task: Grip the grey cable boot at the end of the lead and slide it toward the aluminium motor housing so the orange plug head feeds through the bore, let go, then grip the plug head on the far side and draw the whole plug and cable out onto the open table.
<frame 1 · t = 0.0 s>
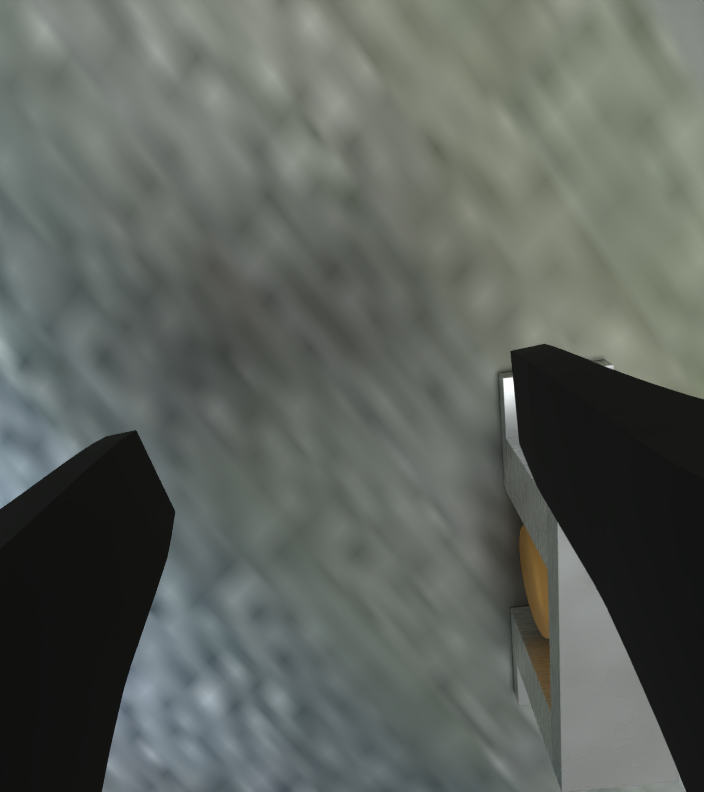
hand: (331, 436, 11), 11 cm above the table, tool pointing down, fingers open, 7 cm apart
housing: (554, 544, 24), on the table
plug: (566, 543, 24), on the table
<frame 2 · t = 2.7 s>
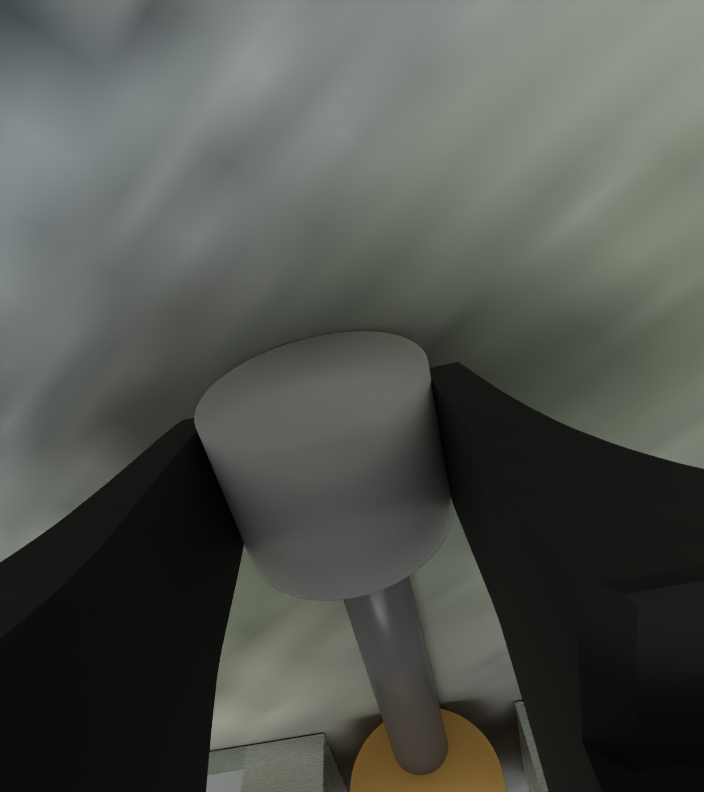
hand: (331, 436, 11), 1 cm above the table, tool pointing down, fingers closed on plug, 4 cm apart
housing: (427, 753, 18), on the table
plug: (425, 745, 18), on the table, touching gripper
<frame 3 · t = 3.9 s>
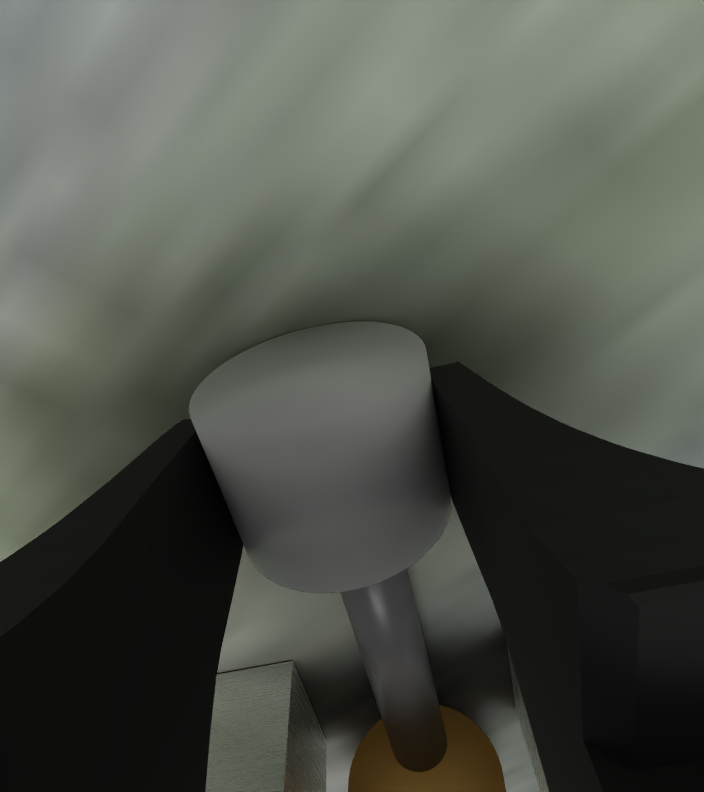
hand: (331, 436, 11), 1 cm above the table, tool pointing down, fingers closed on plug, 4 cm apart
housing: (409, 686, 16), on the table
plug: (424, 741, 18), on the table, touching gripper
when the fingers open (1 cm above the table, at t = 5.1 s): plug stays where it is, on the table.
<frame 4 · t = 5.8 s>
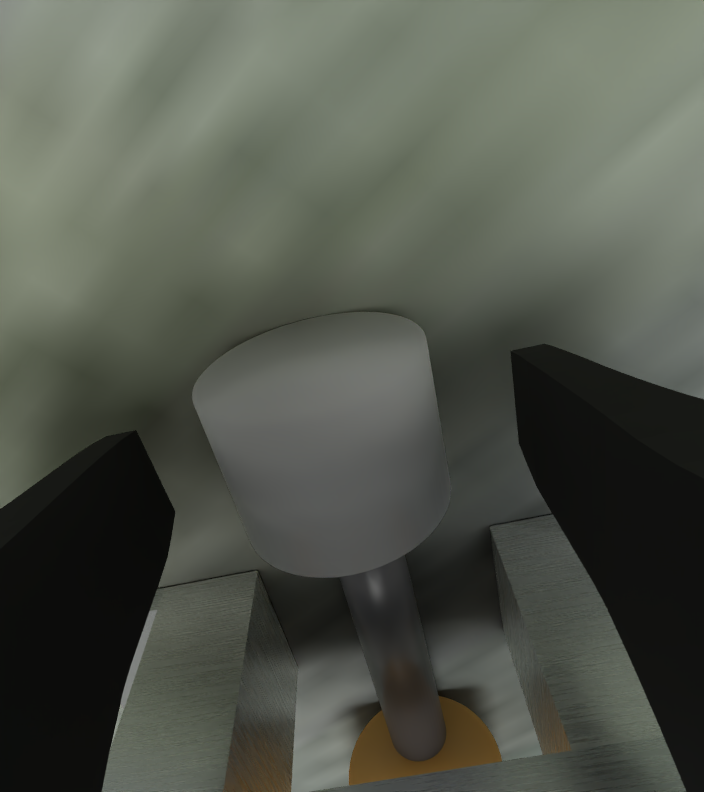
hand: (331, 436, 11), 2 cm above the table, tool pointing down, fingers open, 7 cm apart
housing: (386, 602, 15), on the table
plug: (423, 733, 18), on the table
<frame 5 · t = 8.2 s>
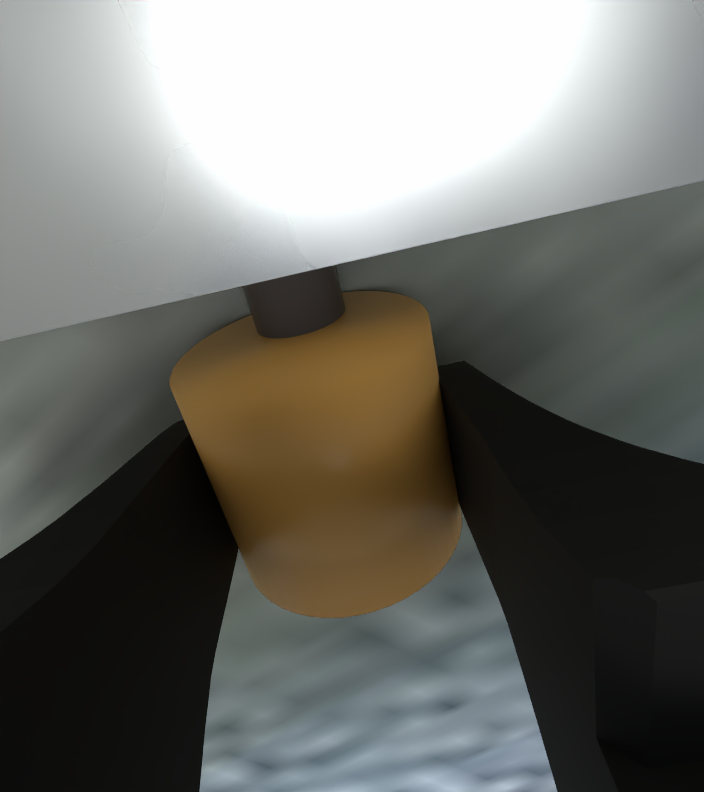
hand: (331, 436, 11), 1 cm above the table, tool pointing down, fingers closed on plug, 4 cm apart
housing: (233, 50, 9), on the table
plug: (327, 387, 12), on the table, touching gripper
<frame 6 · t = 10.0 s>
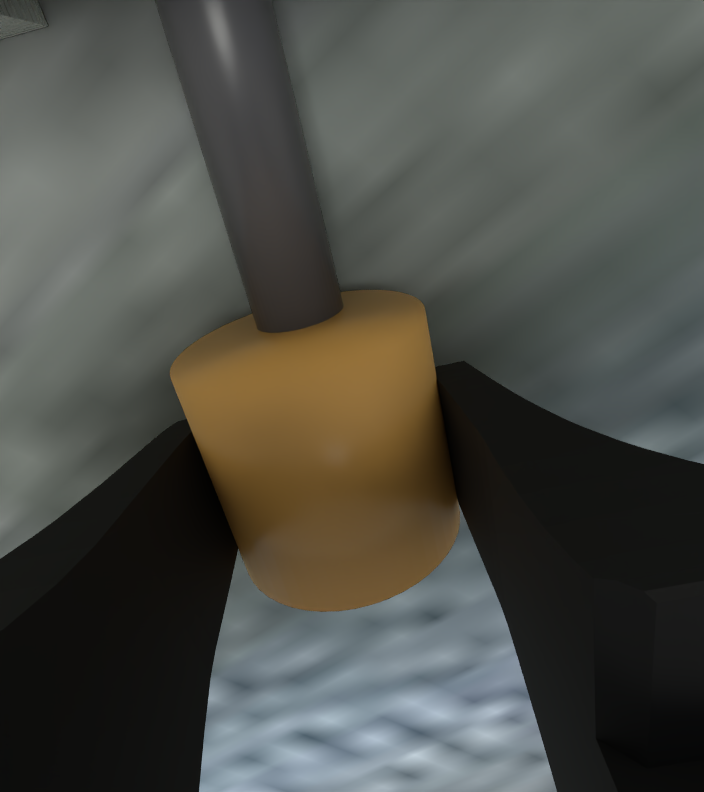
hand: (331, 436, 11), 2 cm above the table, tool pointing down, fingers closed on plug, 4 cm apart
plug: (326, 388, 12), point 1 cm above the table, touching gripper
when the fingers open (2 cm above the table, at t = 11.9 s): plug stays where it is, on the table.
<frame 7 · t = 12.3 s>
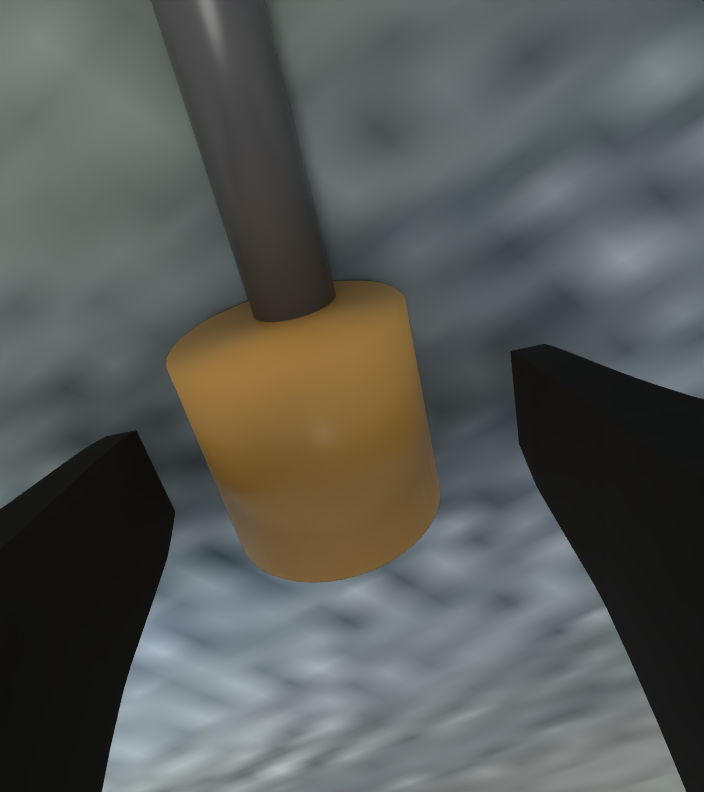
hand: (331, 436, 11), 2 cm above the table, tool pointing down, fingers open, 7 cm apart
plug: (325, 371, 12), on the table, tilted 6°
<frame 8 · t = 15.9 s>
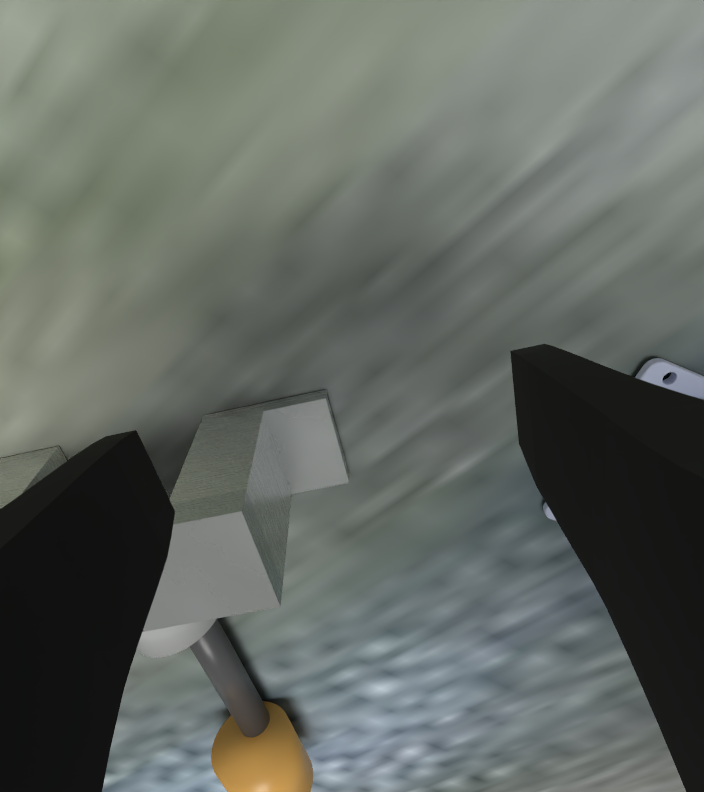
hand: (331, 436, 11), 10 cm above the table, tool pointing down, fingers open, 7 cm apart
housing: (149, 471, 23), on the table
plug: (270, 722, 31), on the table
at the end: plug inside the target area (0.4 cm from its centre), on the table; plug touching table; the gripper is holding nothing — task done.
